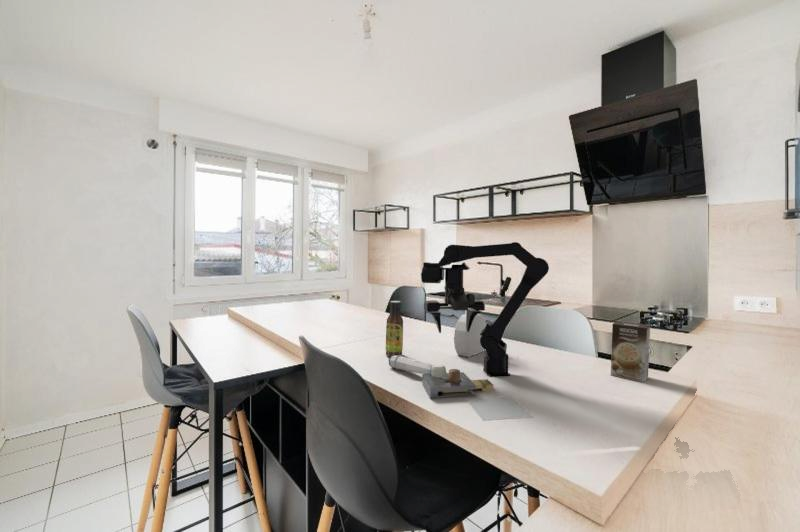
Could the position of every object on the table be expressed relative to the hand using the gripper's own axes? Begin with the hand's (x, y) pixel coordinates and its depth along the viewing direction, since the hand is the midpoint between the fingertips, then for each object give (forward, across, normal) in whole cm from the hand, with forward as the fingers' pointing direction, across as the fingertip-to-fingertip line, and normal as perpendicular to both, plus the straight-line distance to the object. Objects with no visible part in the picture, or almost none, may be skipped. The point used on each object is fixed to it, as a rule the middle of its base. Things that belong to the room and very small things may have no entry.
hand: (453, 332), depth 115 cm
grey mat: (+12, +2, -30) cm, 32 cm away
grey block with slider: (+12, -4, -18) cm, 22 cm away
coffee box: (+12, +51, -14) cm, 54 cm away
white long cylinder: (+12, -13, -6) cm, 19 cm away
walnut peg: (+12, -5, -19) cm, 23 cm away
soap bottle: (+12, +12, +17) cm, 24 cm away
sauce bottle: (+12, -17, +18) cm, 28 cm away
